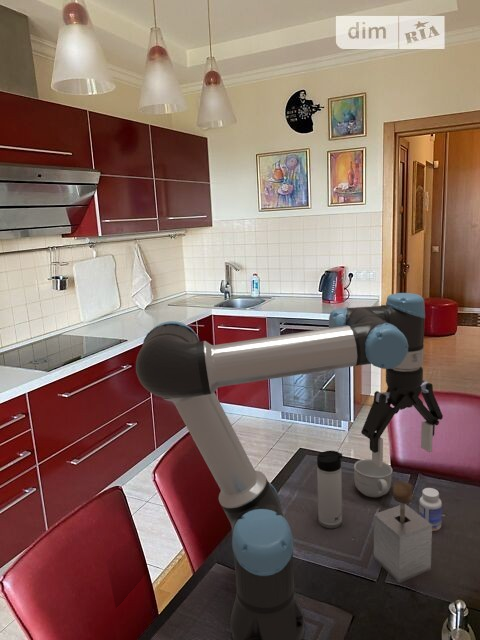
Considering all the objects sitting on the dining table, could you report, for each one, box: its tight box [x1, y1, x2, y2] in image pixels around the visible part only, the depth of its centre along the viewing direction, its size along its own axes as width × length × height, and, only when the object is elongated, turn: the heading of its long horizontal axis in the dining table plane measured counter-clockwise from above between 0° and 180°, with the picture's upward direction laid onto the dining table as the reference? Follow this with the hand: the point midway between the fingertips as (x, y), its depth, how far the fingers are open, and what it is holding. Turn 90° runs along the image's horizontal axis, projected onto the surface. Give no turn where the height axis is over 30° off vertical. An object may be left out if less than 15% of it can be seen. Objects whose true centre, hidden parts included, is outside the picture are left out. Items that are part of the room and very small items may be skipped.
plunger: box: [393, 480, 413, 524], centre depth 113 cm, size 7×7×18 cm
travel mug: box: [316, 450, 343, 529], centre depth 130 cm, size 6×7×20 cm
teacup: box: [353, 458, 394, 498], centre depth 143 cm, size 14×11×8 cm
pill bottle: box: [418, 487, 443, 532], centre depth 128 cm, size 5×5×10 cm
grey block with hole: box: [373, 503, 433, 584], centre depth 116 cm, size 9×11×12 cm
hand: (402, 456), depth 110 cm, fingers open, 13 cm apart
